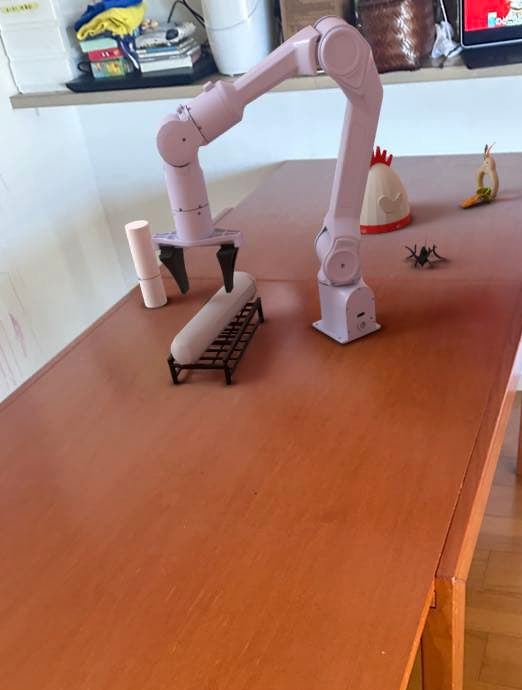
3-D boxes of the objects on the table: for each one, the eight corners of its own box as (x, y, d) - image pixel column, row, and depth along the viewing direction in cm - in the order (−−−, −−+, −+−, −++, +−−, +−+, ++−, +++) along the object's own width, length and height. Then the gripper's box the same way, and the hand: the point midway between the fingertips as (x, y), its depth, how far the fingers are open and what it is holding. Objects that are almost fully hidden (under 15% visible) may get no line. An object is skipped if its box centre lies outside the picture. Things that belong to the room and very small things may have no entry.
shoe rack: (264, 320, 136) (261, 296, 133) (231, 385, 121) (226, 359, 118) (212, 321, 139) (207, 297, 136) (172, 384, 123) (166, 359, 120)
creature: (409, 261, 150) (399, 269, 144) (410, 232, 148) (400, 239, 141) (448, 262, 148) (440, 270, 141) (450, 233, 145) (442, 240, 139)
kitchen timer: (335, 221, 169) (329, 148, 159) (388, 205, 172) (386, 132, 162) (366, 238, 159) (362, 162, 149) (422, 221, 162) (422, 145, 153)
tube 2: (196, 348, 115) (259, 276, 132) (165, 335, 116) (231, 266, 132) (194, 376, 119) (255, 303, 136) (163, 364, 120) (228, 293, 136)
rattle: (453, 199, 170) (454, 144, 162) (489, 193, 170) (492, 137, 163) (463, 210, 164) (464, 153, 157) (500, 204, 165) (503, 146, 157)
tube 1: (171, 298, 148) (152, 220, 138) (159, 308, 146) (139, 229, 136) (152, 297, 150) (133, 219, 140) (141, 306, 147) (120, 228, 137)
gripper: (242, 193, 116) (256, 279, 125) (154, 198, 119) (174, 281, 128) (230, 209, 111) (245, 298, 120) (138, 214, 114) (160, 300, 123)
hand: (207, 290), depth 124 cm, fingers open, 7 cm apart
